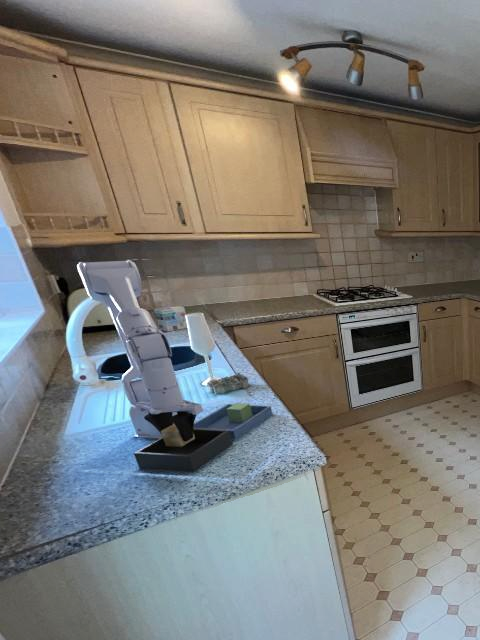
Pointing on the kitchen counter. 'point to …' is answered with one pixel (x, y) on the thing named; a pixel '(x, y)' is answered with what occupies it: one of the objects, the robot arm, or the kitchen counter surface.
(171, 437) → the cream cube
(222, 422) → the blue box
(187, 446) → the black basket
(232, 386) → the egg carton
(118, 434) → the kitchen counter surface
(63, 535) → the kitchen counter surface
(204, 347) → the champagne flute
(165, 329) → the light bulb box
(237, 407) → the green cube
